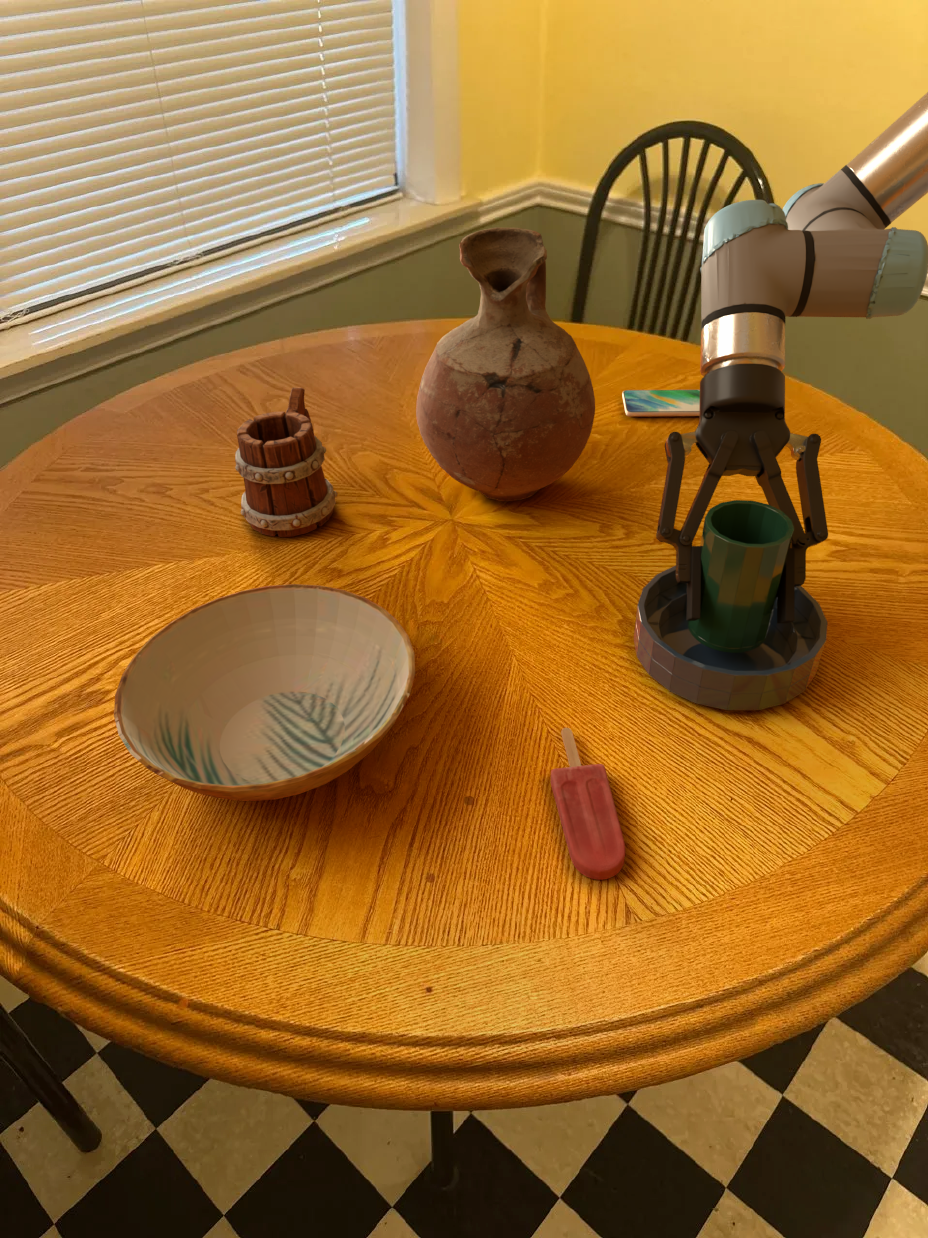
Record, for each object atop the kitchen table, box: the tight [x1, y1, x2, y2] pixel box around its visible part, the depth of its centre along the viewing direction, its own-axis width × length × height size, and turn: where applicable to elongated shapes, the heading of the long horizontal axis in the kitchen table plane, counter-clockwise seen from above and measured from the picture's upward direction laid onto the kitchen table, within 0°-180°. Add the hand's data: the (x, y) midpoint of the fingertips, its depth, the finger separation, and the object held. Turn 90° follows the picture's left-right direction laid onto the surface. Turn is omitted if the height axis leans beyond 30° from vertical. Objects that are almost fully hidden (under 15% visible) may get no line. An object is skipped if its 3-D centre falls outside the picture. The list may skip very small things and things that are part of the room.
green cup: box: [688, 499, 794, 653], centre depth 79 cm, size 7×7×12 cm
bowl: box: [113, 583, 416, 802], centre depth 75 cm, size 25×25×8 cm
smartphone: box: [621, 389, 700, 417], centre depth 125 cm, size 7×1×15 cm
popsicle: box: [550, 727, 627, 881], centre depth 71 cm, size 4×2×15 cm
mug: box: [234, 387, 338, 538], centre depth 104 cm, size 12×14×15 cm
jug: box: [415, 226, 596, 502], centre depth 102 cm, size 22×22×30 cm
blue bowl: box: [633, 564, 828, 711], centre depth 83 cm, size 17×17×5 cm
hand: (739, 620), depth 78 cm, fingers closed on green cup, 7 cm apart
